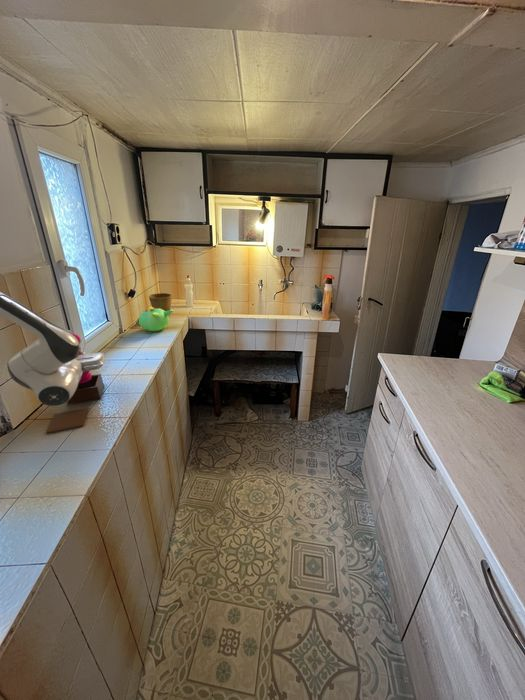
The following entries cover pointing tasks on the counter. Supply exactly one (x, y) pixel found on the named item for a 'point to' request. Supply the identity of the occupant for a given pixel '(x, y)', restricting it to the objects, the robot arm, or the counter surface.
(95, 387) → the mill holder
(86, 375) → the pepper mill
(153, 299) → the plant pot
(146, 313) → the toy bird
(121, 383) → the counter surface
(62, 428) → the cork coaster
